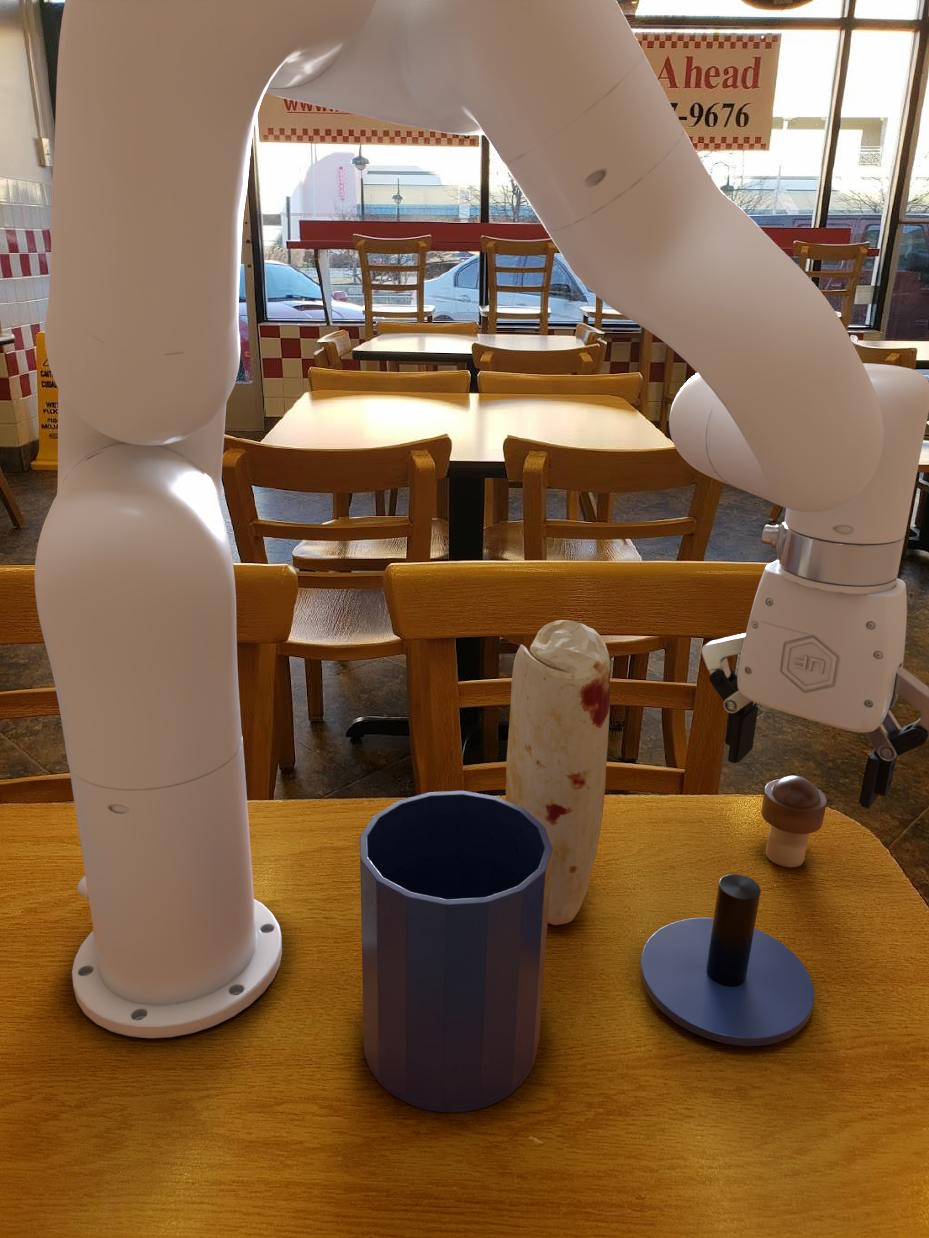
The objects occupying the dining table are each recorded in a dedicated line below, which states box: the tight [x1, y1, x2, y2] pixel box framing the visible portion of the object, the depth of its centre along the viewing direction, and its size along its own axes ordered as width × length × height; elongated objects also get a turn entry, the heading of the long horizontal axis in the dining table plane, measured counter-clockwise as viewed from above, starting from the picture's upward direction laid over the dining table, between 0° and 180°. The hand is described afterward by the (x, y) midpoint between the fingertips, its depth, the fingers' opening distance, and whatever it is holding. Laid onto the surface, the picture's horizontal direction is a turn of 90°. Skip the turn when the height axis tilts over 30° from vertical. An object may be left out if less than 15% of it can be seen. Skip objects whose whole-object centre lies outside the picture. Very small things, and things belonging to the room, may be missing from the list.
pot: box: [359, 790, 553, 1114], centre depth 52 cm, size 10×10×14 cm
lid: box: [639, 873, 815, 1047], centre depth 57 cm, size 10×10×8 cm
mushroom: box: [760, 775, 828, 868], centre depth 70 cm, size 4×4×7 cm
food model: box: [505, 619, 611, 926], centre depth 63 cm, size 10×7×20 cm
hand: (802, 776), depth 69 cm, fingers open, 9 cm apart
